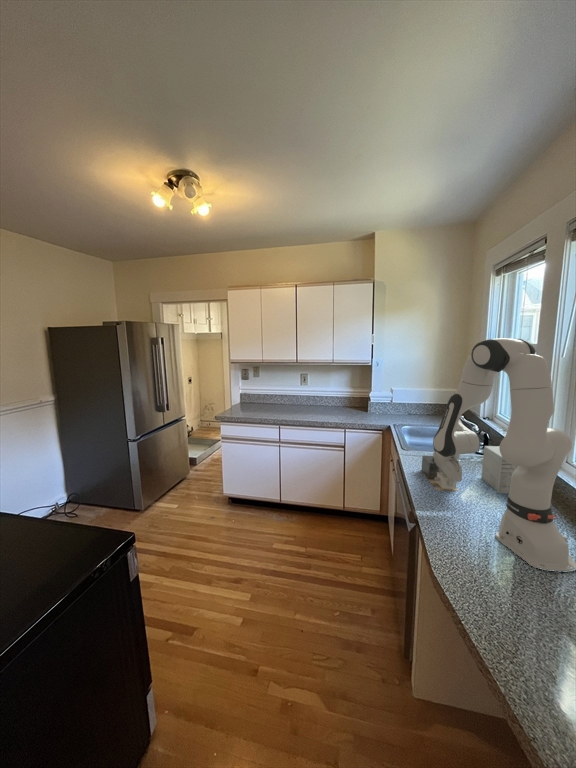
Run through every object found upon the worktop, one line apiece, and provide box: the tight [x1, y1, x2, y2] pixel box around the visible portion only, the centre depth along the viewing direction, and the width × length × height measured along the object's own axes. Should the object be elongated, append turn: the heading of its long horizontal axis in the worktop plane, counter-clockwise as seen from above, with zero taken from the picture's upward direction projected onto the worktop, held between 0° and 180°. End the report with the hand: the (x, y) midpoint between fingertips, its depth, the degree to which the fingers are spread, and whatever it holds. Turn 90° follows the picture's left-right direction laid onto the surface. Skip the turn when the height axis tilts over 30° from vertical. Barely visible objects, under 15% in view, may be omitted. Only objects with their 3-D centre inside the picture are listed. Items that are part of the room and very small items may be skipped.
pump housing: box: [434, 472, 458, 489], centre depth 140 cm, size 6×8×5 cm
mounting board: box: [420, 470, 460, 492], centre depth 148 cm, size 21×10×2 cm, turn 177°
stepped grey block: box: [420, 452, 440, 480], centre depth 152 cm, size 9×9×11 cm
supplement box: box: [481, 445, 518, 495], centre depth 142 cm, size 13×13×18 cm
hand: (446, 482), depth 141 cm, fingers closed on pump housing, 6 cm apart
